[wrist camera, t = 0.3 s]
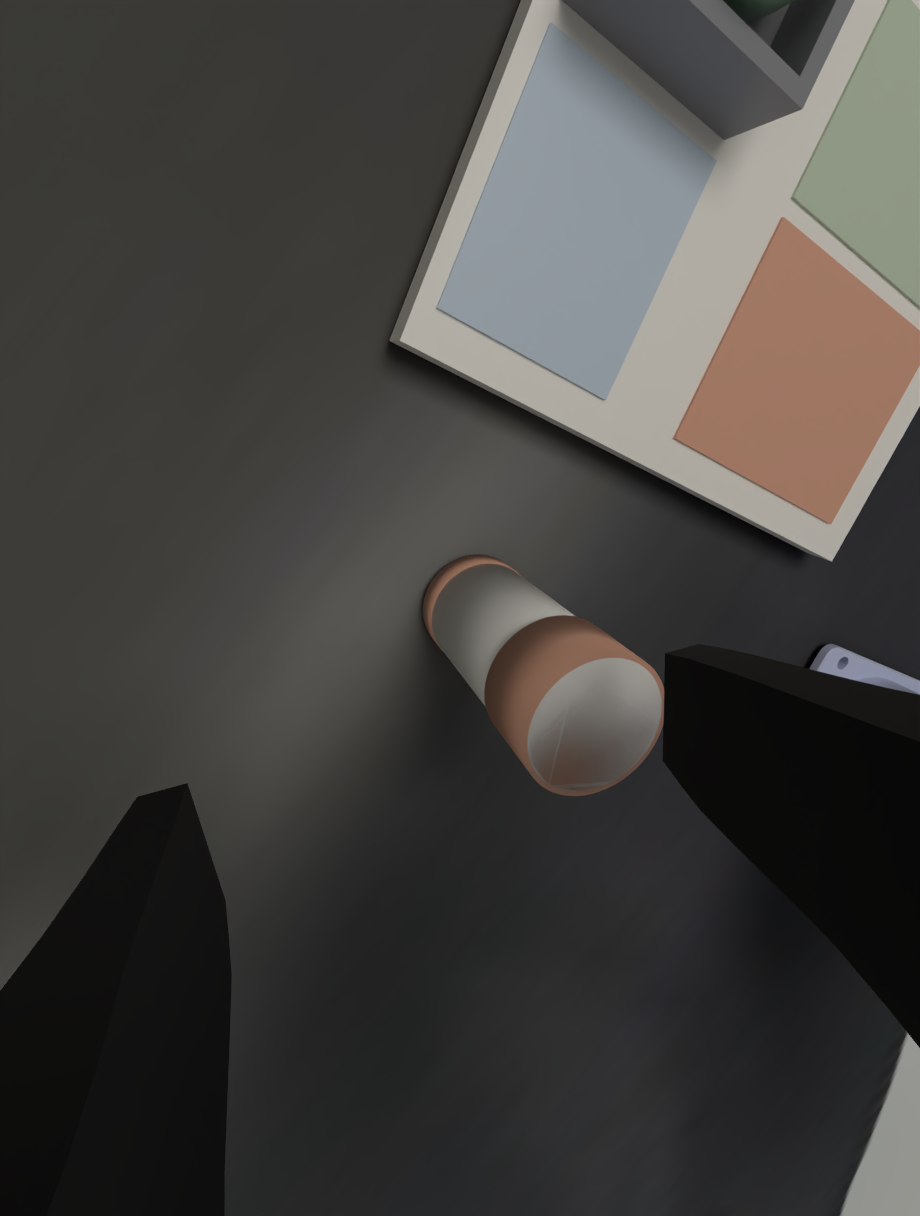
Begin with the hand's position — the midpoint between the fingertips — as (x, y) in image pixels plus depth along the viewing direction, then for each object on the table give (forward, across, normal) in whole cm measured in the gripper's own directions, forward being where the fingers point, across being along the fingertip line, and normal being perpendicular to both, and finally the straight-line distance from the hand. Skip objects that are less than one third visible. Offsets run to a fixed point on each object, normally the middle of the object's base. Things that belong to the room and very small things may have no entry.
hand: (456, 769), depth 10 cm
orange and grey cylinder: (+9, -3, +2) cm, 10 cm away
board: (+9, -12, -7) cm, 17 cm away
